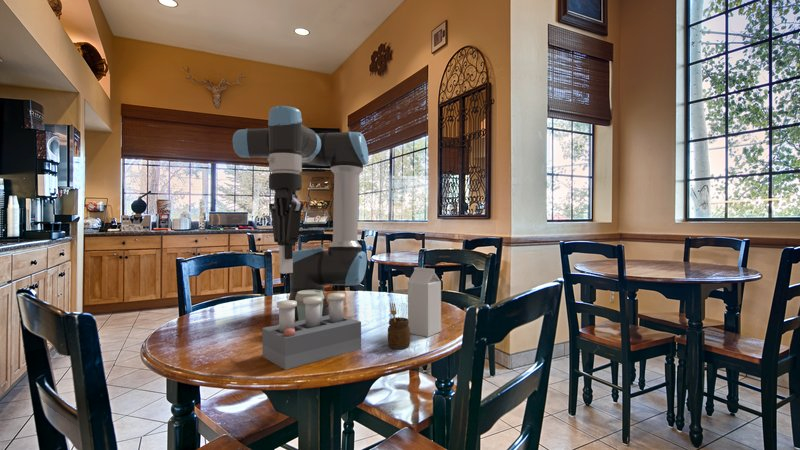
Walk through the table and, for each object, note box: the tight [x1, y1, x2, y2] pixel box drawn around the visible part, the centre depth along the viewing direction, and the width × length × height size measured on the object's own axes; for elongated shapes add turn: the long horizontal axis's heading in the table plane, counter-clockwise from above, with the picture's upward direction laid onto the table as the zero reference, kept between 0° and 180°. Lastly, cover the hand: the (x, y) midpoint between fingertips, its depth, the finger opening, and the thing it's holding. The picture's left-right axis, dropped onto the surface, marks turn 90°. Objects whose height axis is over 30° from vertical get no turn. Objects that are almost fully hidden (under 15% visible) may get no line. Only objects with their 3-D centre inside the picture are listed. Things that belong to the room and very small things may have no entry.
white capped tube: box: [276, 299, 297, 334], centre depth 96 cm, size 5×5×7 cm
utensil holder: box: [387, 302, 411, 350], centre depth 105 cm, size 6×6×12 cm
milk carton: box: [407, 266, 442, 338], centre depth 118 cm, size 7×7×19 cm
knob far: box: [326, 292, 346, 323], centre depth 105 cm, size 5×5×7 cm
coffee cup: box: [295, 290, 325, 321], centre depth 119 cm, size 8×8×12 cm
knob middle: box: [303, 296, 322, 328], centre depth 100 cm, size 5×5×7 cm
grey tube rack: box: [261, 314, 362, 371], centre depth 100 cm, size 12×21×8 cm, turn 133°
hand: (286, 272), depth 95 cm, fingers closed
